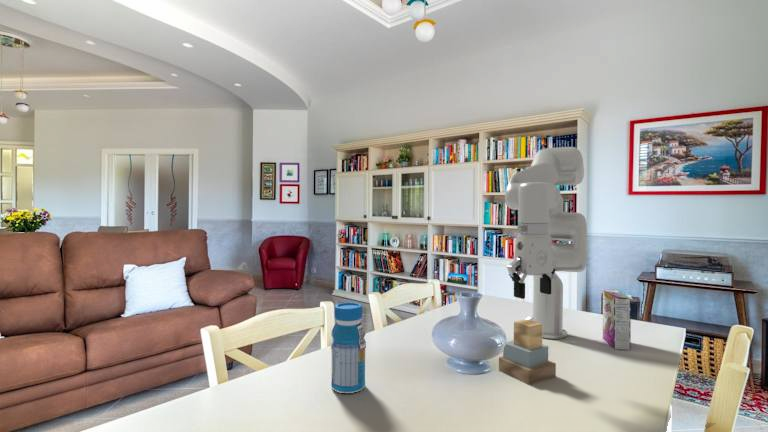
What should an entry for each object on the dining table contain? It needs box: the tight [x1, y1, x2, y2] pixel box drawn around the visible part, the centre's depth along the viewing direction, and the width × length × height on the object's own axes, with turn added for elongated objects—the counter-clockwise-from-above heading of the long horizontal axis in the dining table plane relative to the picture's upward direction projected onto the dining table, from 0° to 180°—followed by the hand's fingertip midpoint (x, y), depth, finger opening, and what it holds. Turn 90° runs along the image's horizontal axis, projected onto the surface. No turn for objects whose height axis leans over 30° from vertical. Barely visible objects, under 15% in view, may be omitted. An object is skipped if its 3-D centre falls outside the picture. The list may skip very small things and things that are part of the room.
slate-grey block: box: [502, 339, 549, 368], centre depth 107 cm, size 8×8×4 cm
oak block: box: [513, 318, 543, 350], centre depth 106 cm, size 5×5×6 cm
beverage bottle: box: [330, 301, 367, 394], centre depth 97 cm, size 8×8×20 cm
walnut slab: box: [498, 356, 557, 386], centre depth 106 cm, size 10×10×4 cm
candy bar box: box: [602, 289, 632, 351], centre depth 129 cm, size 11×5×16 cm, turn 168°
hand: (532, 295), depth 105 cm, fingers open, 9 cm apart
